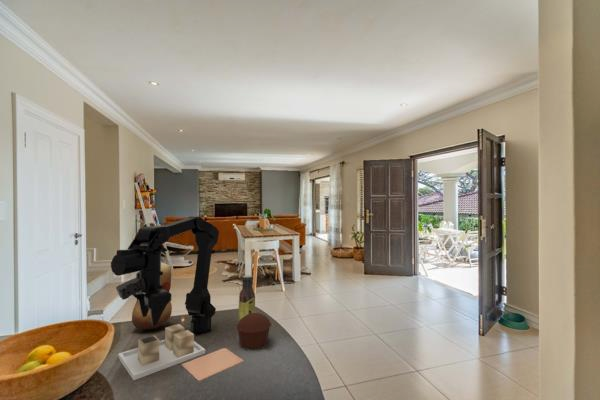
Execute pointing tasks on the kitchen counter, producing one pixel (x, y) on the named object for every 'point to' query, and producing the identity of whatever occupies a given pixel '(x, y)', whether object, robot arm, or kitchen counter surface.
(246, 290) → the sauce bottle
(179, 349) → the plain box
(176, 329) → the plain box
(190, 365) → the terracotta tile
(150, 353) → the labelled box
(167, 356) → the white shallow tray
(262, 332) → the muffin
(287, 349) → the kitchen counter surface
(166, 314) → the butternut squash
